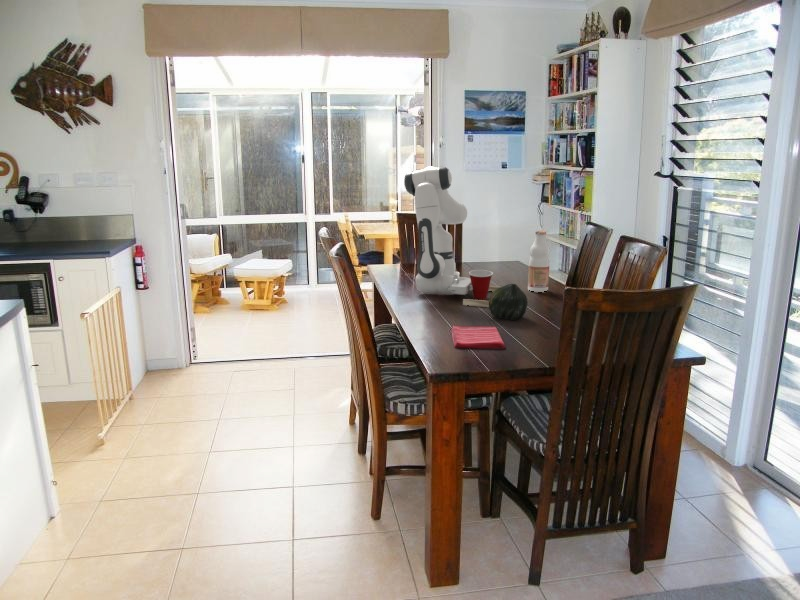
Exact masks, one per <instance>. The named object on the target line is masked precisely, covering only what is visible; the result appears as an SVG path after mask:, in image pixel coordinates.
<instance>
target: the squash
mask: <svg viewBox="0 0 800 600" xmlns="http://www.w3.org/2000/svg"><path fill="white" fill-rule="evenodd" d="M499 287H500V288H498V289H496V290H495V291H494V292H491V295H490V298H489V299H488V301H489V307H488V309H489V311H490V314H491V315H492V317H495V318H497V319H499V318H500V319H503V318H504V319H506V320H511V321H516V320H520V319H522V317H524V316H525V314H526V312H527V308H528V306H529V305H528V303H529V302H528V297H527V295H526V293H524V291H523V290H522V289H521V288H520V287H519V286H518V285H517V284H516V283H509V284H505V285H503V286H499Z"/></svg>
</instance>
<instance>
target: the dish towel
mask: <svg viewBox="0 0 800 600" xmlns="http://www.w3.org/2000/svg"><path fill="white" fill-rule="evenodd" d="M451 336H452V341H453V346H454V348H455V349H496V350H497V349H502V350H503V349H505V348H506V345H505V342H504V340H503V339H502V336H501V334H500V332H499V330H498V329H497V327H496V326H458V325H451Z"/></svg>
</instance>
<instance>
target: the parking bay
mask: <svg viewBox="0 0 800 600" xmlns="http://www.w3.org/2000/svg"><path fill="white" fill-rule="evenodd" d="M500 287H501V286H496V285H495V286H494V285H491V286H490V285H489V290H488V291H492V292H491V293H493V292H494V291H495V290H496V289H498V288H500ZM467 305H469V306H470V307H480V308H481V307H482V308H483V307H484V308H489V300H486V299H483V300H478V299H468V298H463V299H462V306H467ZM469 306H468V307H469Z"/></svg>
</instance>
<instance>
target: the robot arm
mask: <svg viewBox="0 0 800 600" xmlns="http://www.w3.org/2000/svg"><path fill="white" fill-rule="evenodd" d="M452 179H453V178H452V174H451V172H450V169H449V168H448V167H445V166H439V167H436V166H433V165H429V166H426V167H425V168H423V169H417V170H415V171H414V170H412V171H408V172H407V173H406V174H405V175H404V181H403V184H404V189H405V190H406V192H407V193H408V194H409V195H412V196H413V197H414V207H415V209H414V210H415V217H416V222H417V230H418V246H419V248H418V250H419V255H418V256H419V257H418V260H417V263H416V269H417V272H418V273H417V274H416V276H415V280H414V283H415V287H416V289H417V291H419V292H421V293H425V294H432V295H435V294H436V295H437V294H441V295H447V296H454V295H462V296H463V295H467V294H468V293H469V292H470V291H472V290H473V287H472V285H471V279H470V277H467V276H466V277H465V276H460V275H461V274H460V272H459V271H458V270H457V268H456V265H457V264H456V261H455V260H454V249H453V236H452V234H451V233H450V232H449V231H448V230H445V229H444V227H443V225H459V224H463V223H464V222H465V221H466V220H467V218H468V209H467V208H466V206H465V205H464V204H463V203H461V202H459V201H458V200H456V199H454V198H453V196H451V194H450V193H449V191H448V189H449V188H450V187H451V185H452Z"/></svg>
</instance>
